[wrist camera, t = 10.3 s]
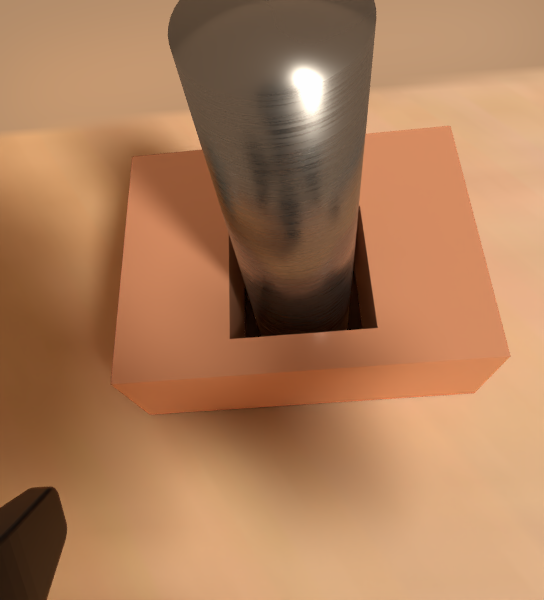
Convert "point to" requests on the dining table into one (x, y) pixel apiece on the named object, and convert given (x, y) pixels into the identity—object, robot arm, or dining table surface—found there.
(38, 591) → the robot arm
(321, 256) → the peg
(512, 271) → the dining table surface
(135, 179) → the socket block
